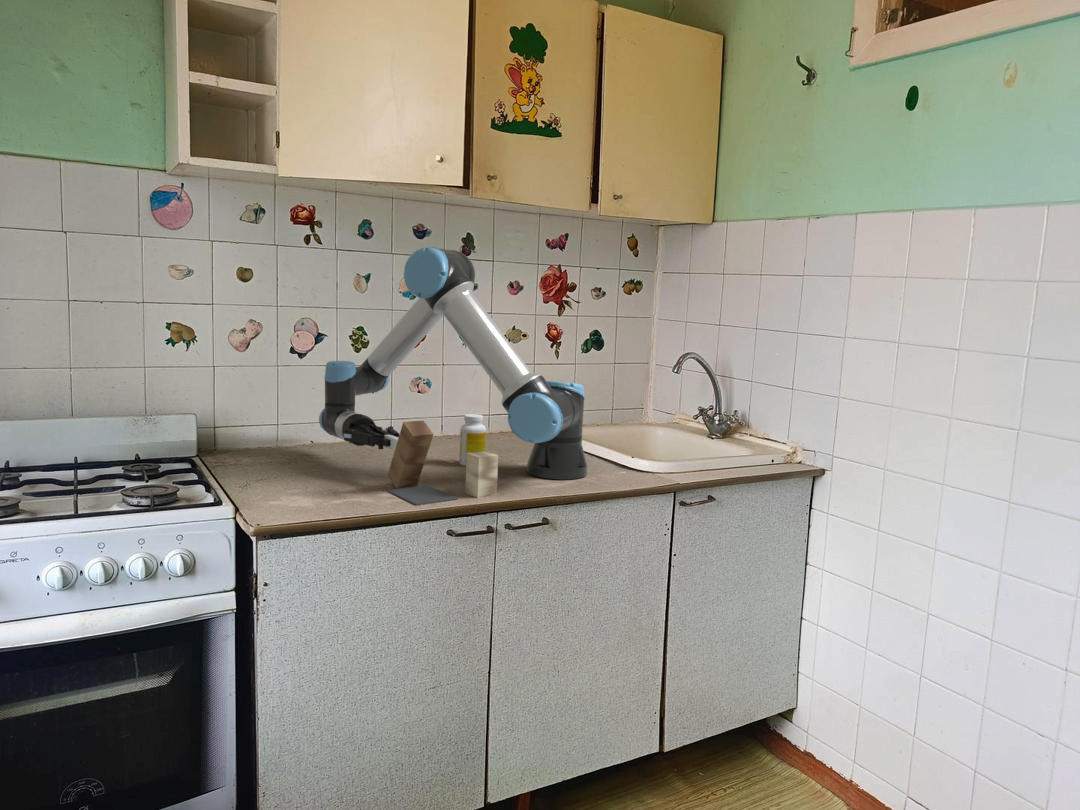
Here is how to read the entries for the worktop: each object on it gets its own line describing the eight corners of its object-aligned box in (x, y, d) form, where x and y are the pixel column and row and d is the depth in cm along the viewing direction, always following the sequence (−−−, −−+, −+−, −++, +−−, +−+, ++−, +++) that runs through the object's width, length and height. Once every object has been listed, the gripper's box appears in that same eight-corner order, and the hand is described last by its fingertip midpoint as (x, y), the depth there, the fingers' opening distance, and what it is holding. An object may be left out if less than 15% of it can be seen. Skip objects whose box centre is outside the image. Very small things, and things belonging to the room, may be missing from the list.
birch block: (484, 490, 178) (485, 451, 176) (496, 495, 174) (498, 455, 172) (465, 492, 175) (466, 453, 173) (477, 498, 171) (479, 457, 169)
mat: (427, 486, 179) (427, 484, 179) (457, 499, 169) (457, 498, 169) (387, 491, 173) (387, 490, 173) (416, 505, 163) (416, 504, 163)
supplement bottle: (490, 465, 203) (492, 416, 201) (470, 468, 198) (472, 418, 196) (473, 460, 207) (475, 412, 205) (454, 463, 203) (455, 414, 201)
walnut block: (407, 472, 181) (423, 420, 174) (416, 486, 178) (433, 434, 170) (387, 475, 178) (403, 422, 170) (396, 489, 175) (412, 435, 167)
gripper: (379, 441, 199) (425, 459, 181) (330, 445, 191) (373, 464, 173) (380, 411, 198) (426, 427, 179) (330, 415, 190) (373, 431, 172)
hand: (400, 445), depth 176 cm, fingers closed
